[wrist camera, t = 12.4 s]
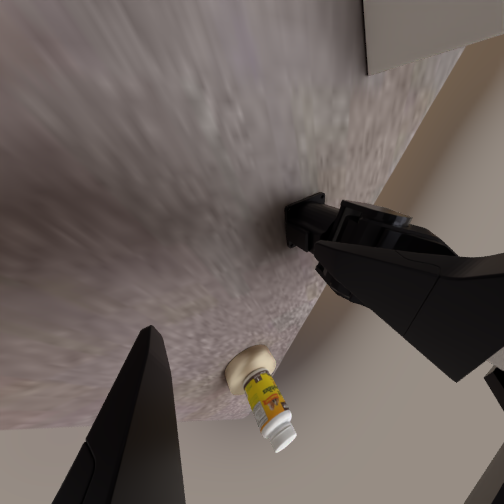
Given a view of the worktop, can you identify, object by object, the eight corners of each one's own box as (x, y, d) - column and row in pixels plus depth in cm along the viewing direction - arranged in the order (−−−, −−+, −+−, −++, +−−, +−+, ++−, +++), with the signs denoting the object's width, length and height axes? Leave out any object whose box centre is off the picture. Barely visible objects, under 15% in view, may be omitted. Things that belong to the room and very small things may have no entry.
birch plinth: (264, 337, 35) (273, 350, 33) (270, 359, 41) (278, 372, 39) (218, 366, 33) (224, 382, 30) (231, 386, 38) (237, 401, 36)
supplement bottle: (271, 365, 36) (307, 426, 28) (256, 384, 37) (287, 448, 29) (252, 367, 32) (285, 437, 24) (236, 388, 33) (264, 462, 25)
